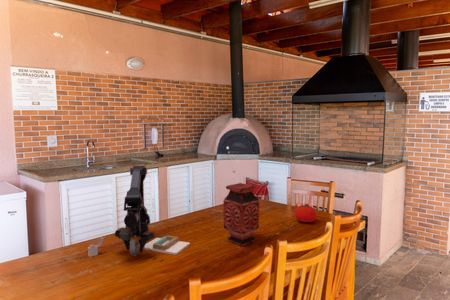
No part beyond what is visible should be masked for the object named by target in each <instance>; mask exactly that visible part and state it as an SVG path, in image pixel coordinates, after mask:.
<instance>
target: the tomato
mask: <svg viewBox="0 0 450 300" xmlns="http://www.w3.org/2000/svg"><path fill="white" fill-rule="evenodd" d="M293 214H294V217H295V219H296V220H297V221H299V222H302V223H307V222H310V223H312V222H314V221H315V219H316V216H317V215H316V214H317V213H316V210H315V209H314V207H312V206H310V205H307V204H303V205H299V206H297V207H296V208H295V209H294V213H293Z"/></svg>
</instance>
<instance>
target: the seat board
mask: <svg viewBox="0 0 450 300" xmlns="http://www.w3.org/2000/svg"><path fill="white" fill-rule="evenodd" d="M165 237H167V241H165V242H164V243H162V244H161V245H160V244H154V243H155V242H157V241H158V240H160V239H161V238H162V237H154V239H151V241H150V240H149V242H146V244H145V246H144V249H143V250H146V251H151V252H158V253H163V254H169V255H174V256H177V255H178V254H180V253H181V252H183V251H184V250H185V249H186V248H188V247H189V246H190V245H191V243H190V242H188V241H181V240H179V237H178V236H172V235H165Z"/></svg>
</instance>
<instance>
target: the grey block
mask: <svg viewBox="0 0 450 300" xmlns="http://www.w3.org/2000/svg"><path fill="white" fill-rule="evenodd" d="M139 240H140V239H135V238H132V239H130V248H129V256H133V257H137V256H138V255H140V243H139V242H138V241H139Z"/></svg>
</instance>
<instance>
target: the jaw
mask: <svg viewBox="0 0 450 300" xmlns="http://www.w3.org/2000/svg"><path fill="white" fill-rule="evenodd" d="M160 238H161V239H160V240H158V241H157V242H155V243H154V244H160V245H161V244H162V243H164V242H165V241H167V237H166V236H163V237H160Z"/></svg>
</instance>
